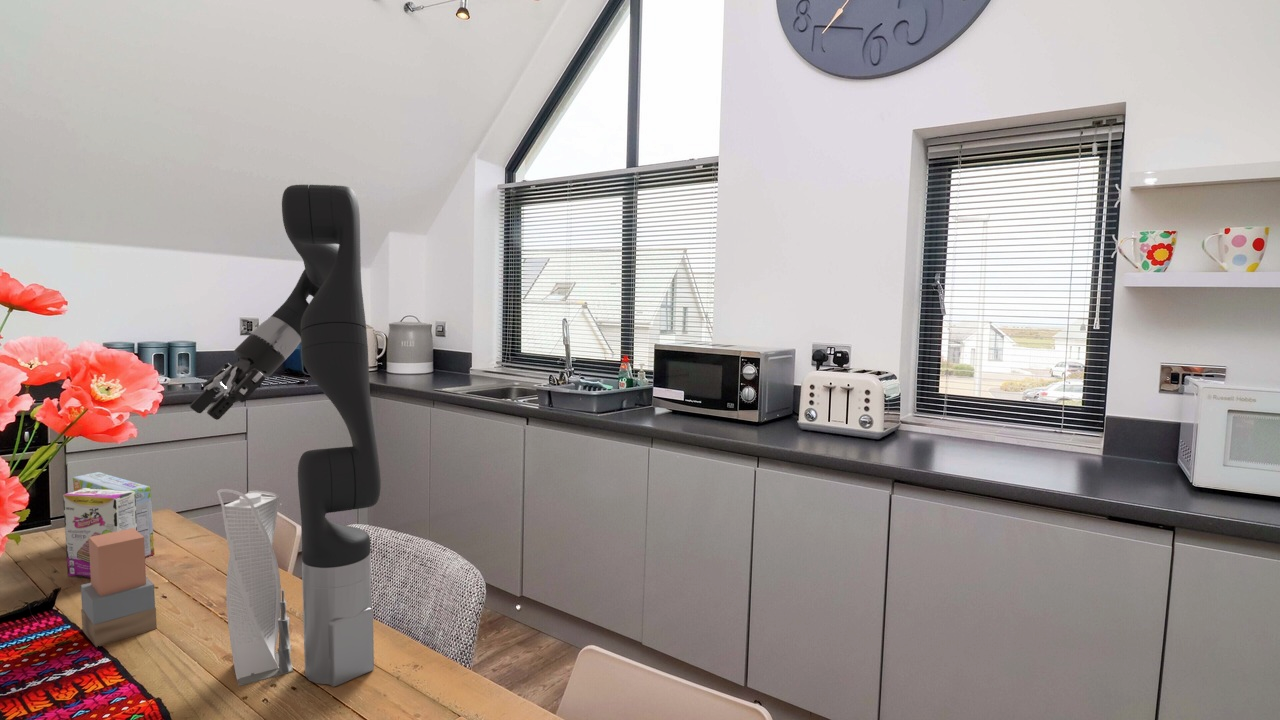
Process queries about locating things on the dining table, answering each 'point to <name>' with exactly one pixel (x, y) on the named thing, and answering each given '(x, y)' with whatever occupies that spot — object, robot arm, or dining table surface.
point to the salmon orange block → (117, 561)
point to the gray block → (116, 602)
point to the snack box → (141, 497)
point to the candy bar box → (94, 522)
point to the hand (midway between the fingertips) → (202, 413)
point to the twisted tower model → (255, 589)
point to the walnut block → (119, 627)
